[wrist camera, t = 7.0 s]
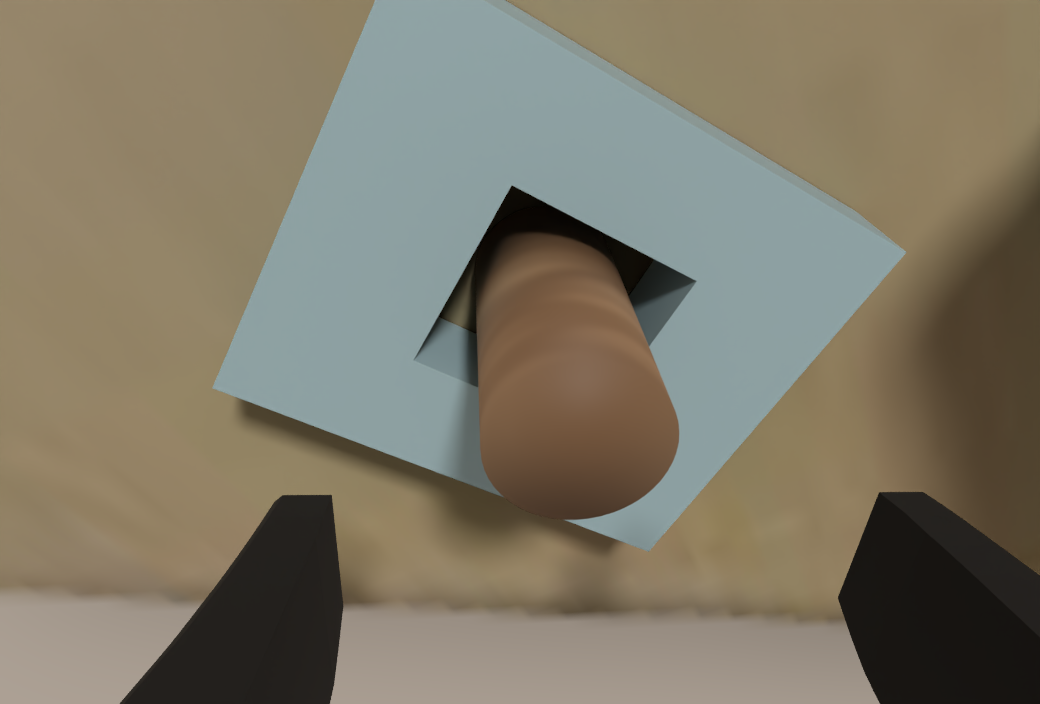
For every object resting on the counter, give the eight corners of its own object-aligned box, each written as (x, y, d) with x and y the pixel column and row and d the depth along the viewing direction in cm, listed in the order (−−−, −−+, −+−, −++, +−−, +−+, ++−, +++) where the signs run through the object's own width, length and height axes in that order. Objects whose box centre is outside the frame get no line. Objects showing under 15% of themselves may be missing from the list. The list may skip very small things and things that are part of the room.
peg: (615, 204, 18) (690, 357, 12) (607, 328, 20) (668, 515, 14) (472, 207, 18) (476, 365, 12) (477, 332, 20) (482, 524, 14)
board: (855, 210, 18) (906, 252, 16) (631, 490, 23) (648, 551, 21) (406, -60, 15) (397, -52, 13) (240, 333, 19) (212, 387, 17)
